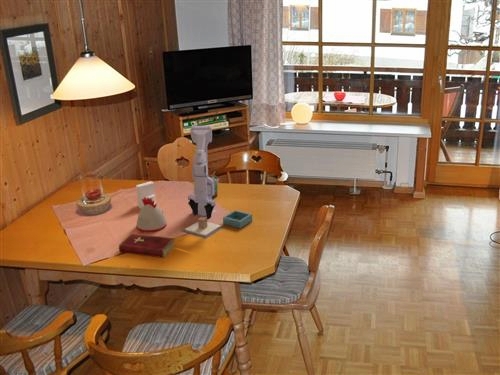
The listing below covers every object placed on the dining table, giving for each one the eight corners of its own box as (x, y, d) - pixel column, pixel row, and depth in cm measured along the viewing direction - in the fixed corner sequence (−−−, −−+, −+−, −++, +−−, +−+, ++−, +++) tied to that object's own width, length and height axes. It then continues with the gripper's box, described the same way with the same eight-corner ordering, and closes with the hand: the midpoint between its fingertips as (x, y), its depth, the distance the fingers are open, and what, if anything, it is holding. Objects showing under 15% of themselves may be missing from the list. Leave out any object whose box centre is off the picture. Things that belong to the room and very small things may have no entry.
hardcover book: (163, 258, 240) (163, 250, 239) (119, 253, 246) (118, 244, 244) (175, 246, 251) (174, 237, 249) (132, 241, 256) (131, 232, 255)
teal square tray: (223, 225, 269) (222, 217, 268) (235, 217, 277) (234, 210, 275) (240, 229, 264) (240, 221, 262) (252, 221, 272) (252, 214, 270)
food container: (216, 200, 297) (215, 183, 294) (205, 200, 299) (204, 182, 295) (222, 192, 309) (221, 175, 305) (211, 191, 310) (210, 174, 306)
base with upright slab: (143, 210, 288) (141, 188, 283) (135, 205, 294) (132, 183, 290) (159, 205, 293) (157, 184, 288) (150, 201, 299) (148, 179, 295)
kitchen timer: (150, 218, 278) (147, 190, 273) (172, 224, 271) (170, 195, 266) (131, 229, 267) (127, 200, 261) (153, 235, 260) (151, 205, 255)
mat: (180, 232, 263) (180, 231, 263) (200, 220, 275) (200, 219, 274) (206, 239, 255) (205, 238, 255) (225, 227, 267) (225, 226, 267)
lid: (184, 230, 263) (184, 220, 261) (200, 221, 272) (200, 211, 271) (205, 236, 257) (204, 226, 255) (221, 226, 266) (220, 216, 264)
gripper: (182, 189, 258) (184, 216, 263) (208, 195, 251) (209, 223, 255) (192, 184, 264) (194, 211, 269) (217, 190, 256) (218, 217, 261)
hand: (202, 216), depth 262 cm, fingers open, 7 cm apart
